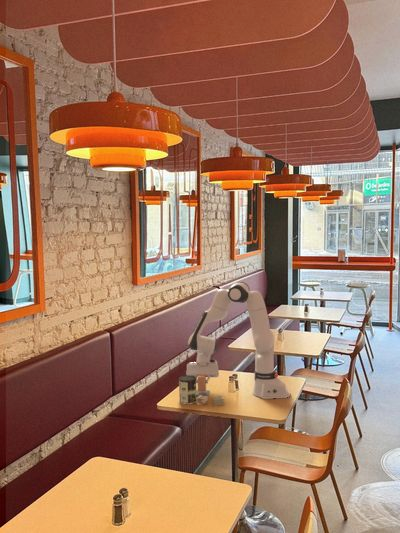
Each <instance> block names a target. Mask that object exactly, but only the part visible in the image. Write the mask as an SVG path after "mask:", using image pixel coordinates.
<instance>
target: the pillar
mask: <svg viewBox="0 0 400 533" xmlns="http://www.w3.org/2000/svg"><path fill="white" fill-rule="evenodd" d="M197 379H198V383H197V390H198V391H200V392H205V391H206V390H207V383H205V381H206V380H207V377H206V375H198V377H197Z"/></svg>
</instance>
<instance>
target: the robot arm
mask: <svg viewBox="0 0 400 533" xmlns="http://www.w3.org/2000/svg"><path fill="white" fill-rule="evenodd" d="M233 302H234V303H240V304H241V303H243V304H245V305H246V308H247V313H248V317H249V321H250V325H251V333H252V339H253V345H254V348H255V357H254V359H255V360H254V361H255V362H254V363H255V364H254V366H255V370H254V373H253V374H254V377H253V378H254V387H253V389H252V390H253V392H252V395H253V396H255V397H259V398H261V399H263V400H270V399H271V400H272V399H273V398H276V399H288V398H290V397H291V392H290V390H288V389H287V386H286V384H285V382H284V381H283V380H281V379H280V378H279V377H278V376H279V374H278V373H277V370H274V368H275V367H274V365H275V364H274V359H275V358H274V356H275V353H274V352H275V334H274V332H273V331H272V330H271V327H270V319H269V315H268V311H267V307H266V304H265V303H266V302H265V300H264V297H263V294H262V293H261V292H260V291H259V290H250V286H249V285H248V284H247V282H243V281H238V282H236V283H234V284H232V285H231V286H230V287H228V289H226V288H220V289H218V290H217V292H216V293H215V295H214V297H213V300H212V303H211V305H210V307H209V308H208V310H205V311H203V312H202V314H201V316H200V317H199V319H198V321H197V324H196V326H195V327H194V329H193V331H192V333H191V334H190V336H189V339H188V341H187V346H188V348H189V349H190V350H192V351H196V352H197V355H196V362H195V361H194V362H188V363H187V364H186V371H185V376H186V375H190V376H195V377H196V384H198V375H206V381H205V383H206V384H209V381H210V379H211V378H219V376H220V373H219V372H220V371H219V366H218V361H217V360H216V359H213V358H211V355H214V354H215V353H216V352H217V350H218V347H219V346H218V341H217V339H216V338H214V337H209V336H205V335H201V333H202V331H203V329H204V327H205V326H206V325H207V324H209V323H212V322H217V321H222V320H224V319H225V318H227V315H228V314H229V310H230V307H231V304H232V303H233ZM289 396H290V397H289ZM287 397H288V398H287ZM273 400H274V399H273Z"/></svg>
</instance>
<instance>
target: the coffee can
mask: <svg viewBox="0 0 400 533" xmlns="http://www.w3.org/2000/svg"><path fill="white" fill-rule="evenodd" d="M196 390H197V383H196V377H195V376H190V375H186V374H185V375H181V376H179V377H178V391H179V392H178V394H179V395H178V397H179V404H182V405H192V404H196V403H197V396H196Z"/></svg>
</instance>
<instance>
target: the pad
mask: <svg viewBox="0 0 400 533" xmlns="http://www.w3.org/2000/svg"><path fill="white" fill-rule="evenodd" d="M210 394H211V390H210V389H209V390H208V389H206V391H205V392H200V391H198V389H196V397H198V396H200V395H203V396H208V398H209V396H210Z"/></svg>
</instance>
